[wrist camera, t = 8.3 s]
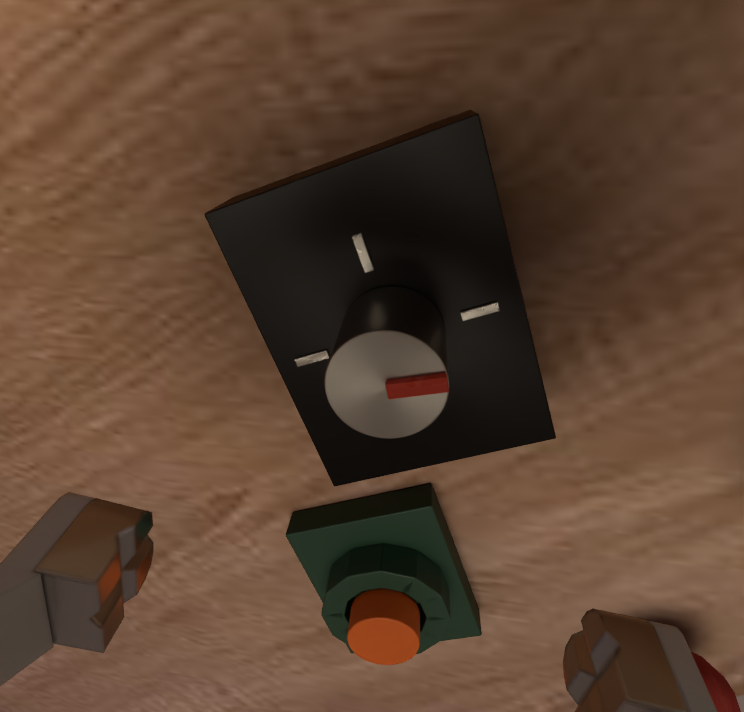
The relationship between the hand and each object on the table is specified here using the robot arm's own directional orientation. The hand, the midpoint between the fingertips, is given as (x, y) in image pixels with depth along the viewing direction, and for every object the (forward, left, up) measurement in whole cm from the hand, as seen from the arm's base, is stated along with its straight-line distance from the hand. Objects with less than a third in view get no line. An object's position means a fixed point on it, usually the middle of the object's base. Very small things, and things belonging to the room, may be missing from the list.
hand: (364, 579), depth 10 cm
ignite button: (+13, -9, -12) cm, 20 cm away
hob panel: (0, 0, -15) cm, 15 cm away
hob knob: (0, 0, -12) cm, 12 cm away
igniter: (+13, -9, -15) cm, 22 cm away
